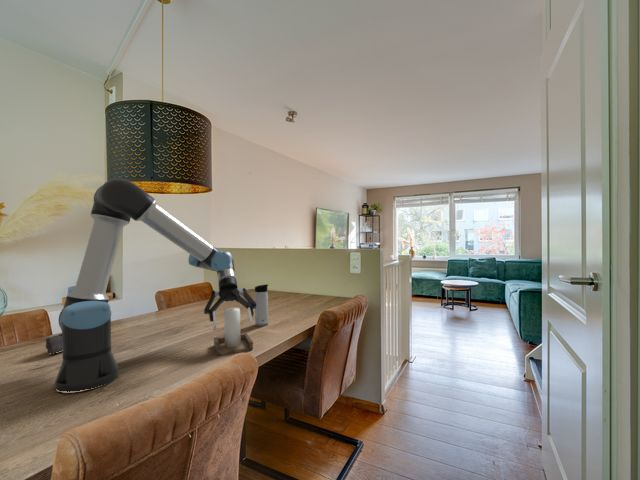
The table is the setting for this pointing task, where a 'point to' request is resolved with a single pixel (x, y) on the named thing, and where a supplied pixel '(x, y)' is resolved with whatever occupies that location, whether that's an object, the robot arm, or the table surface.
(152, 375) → the table surface
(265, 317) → the travel mug
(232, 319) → the paper roll
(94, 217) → the robot arm
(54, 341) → the perforated stone tool
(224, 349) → the tray
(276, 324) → the table surface
